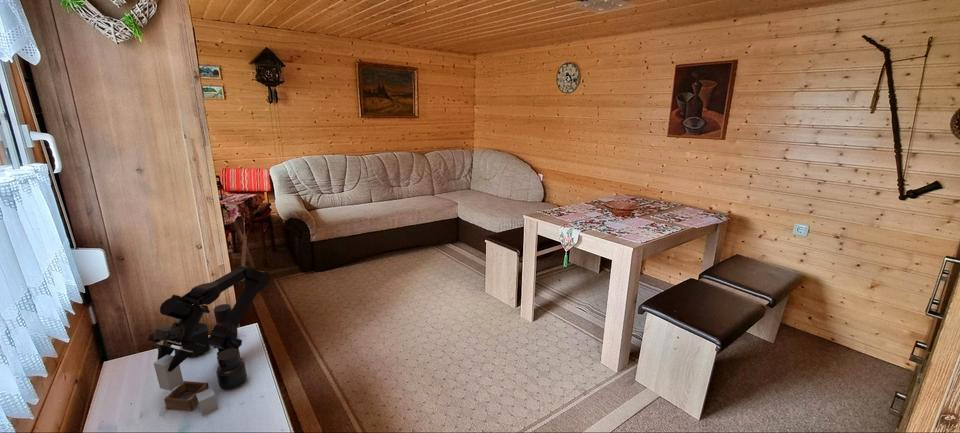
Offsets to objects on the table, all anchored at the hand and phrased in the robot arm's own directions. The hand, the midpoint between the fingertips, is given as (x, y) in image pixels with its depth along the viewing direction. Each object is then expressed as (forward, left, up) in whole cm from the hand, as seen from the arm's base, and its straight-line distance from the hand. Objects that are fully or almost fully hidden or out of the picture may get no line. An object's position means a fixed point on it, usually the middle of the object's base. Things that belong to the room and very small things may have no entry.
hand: (163, 370), depth 132 cm
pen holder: (-12, -27, -14) cm, 33 cm away
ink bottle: (-18, +2, -14) cm, 23 cm away
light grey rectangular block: (-1, -1, -7) cm, 7 cm away
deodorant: (-23, -28, -14) cm, 39 cm away
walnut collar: (-4, +2, -13) cm, 14 cm away
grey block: (-8, +10, -14) cm, 19 cm away
